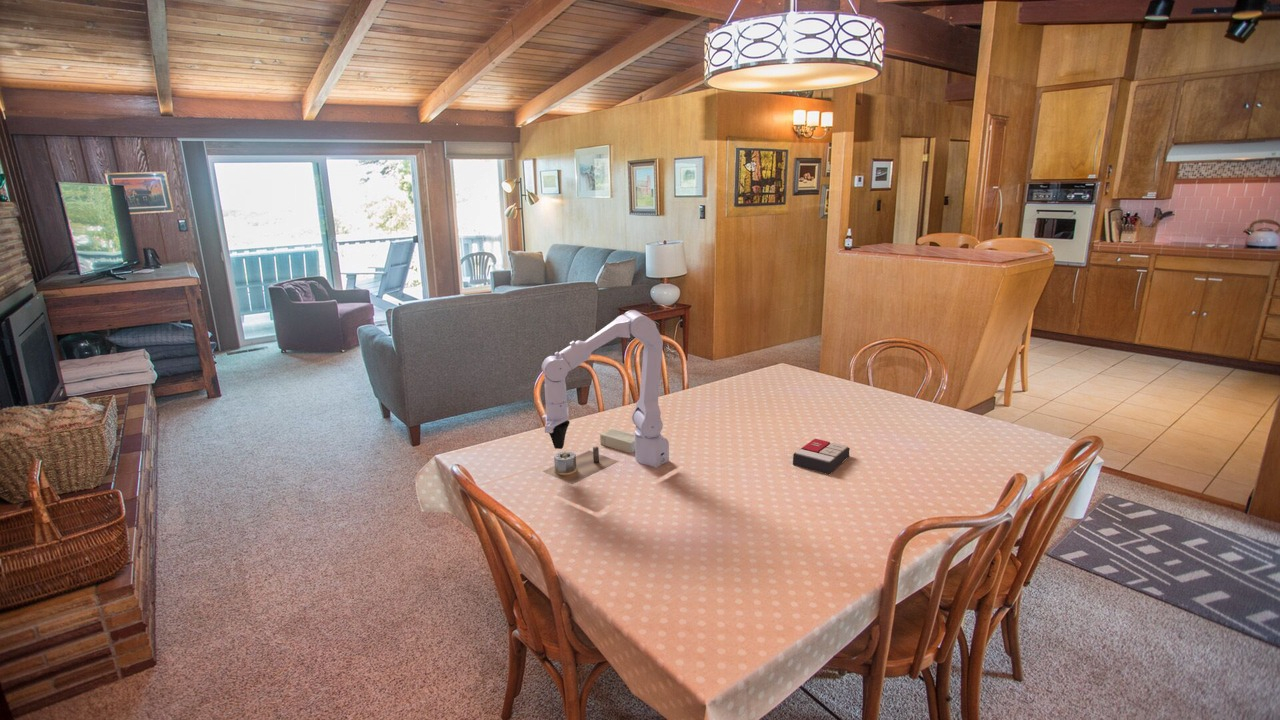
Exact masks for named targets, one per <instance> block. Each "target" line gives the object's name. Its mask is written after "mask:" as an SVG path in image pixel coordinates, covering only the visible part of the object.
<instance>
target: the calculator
mask: <svg viewBox="0 0 1280 720" xmlns="http://www.w3.org/2000/svg"><path fill="white" fill-rule="evenodd" d="M849 457H850V447H848V445H844V444H841V443H836V442H830V441H828V440H823V439H819V438H814V439H812V440H811V441H810V442H808V443H806V444H805V445H804V446H802V447H801V448H799V449H798V450H796V452H794V453H793V454H792V465H793V466H795V467H799V468H802V469H806V470H810V471H813V470H814V472H818V473H821V472H822V473H821V474H825V473H826V475H829V474H830V475H831V474H833V472H835V470H836V469H837V468H838V467H840V465H842V464H843V463H844V462H845V461H846V460H847V459H849ZM846 458H847V459H846ZM845 459H846V460H845ZM844 460H845V461H844ZM843 461H844V462H843ZM842 462H843V463H842Z"/></svg>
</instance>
